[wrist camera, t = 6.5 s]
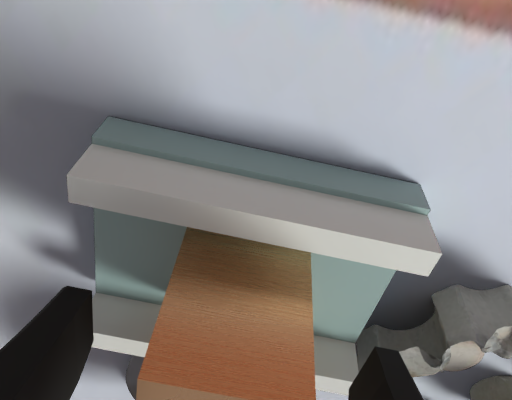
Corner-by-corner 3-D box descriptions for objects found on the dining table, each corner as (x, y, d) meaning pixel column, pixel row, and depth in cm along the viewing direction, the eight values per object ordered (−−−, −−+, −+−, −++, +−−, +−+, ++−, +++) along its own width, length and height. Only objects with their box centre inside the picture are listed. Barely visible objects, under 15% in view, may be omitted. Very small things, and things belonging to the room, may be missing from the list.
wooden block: (282, 317, 15) (275, 483, 10) (179, 297, 14) (132, 458, 10) (310, 241, 12) (316, 411, 8) (190, 216, 12) (137, 379, 8)
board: (342, 331, 17) (349, 399, 14) (108, 285, 16) (78, 348, 14) (420, 184, 12) (446, 247, 10) (108, 116, 12) (66, 167, 10)
